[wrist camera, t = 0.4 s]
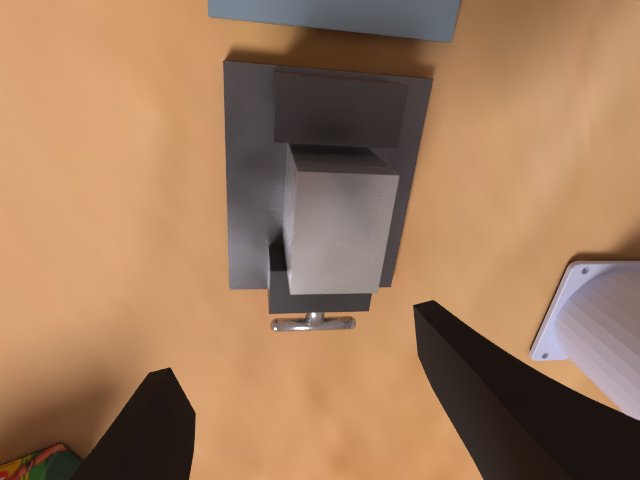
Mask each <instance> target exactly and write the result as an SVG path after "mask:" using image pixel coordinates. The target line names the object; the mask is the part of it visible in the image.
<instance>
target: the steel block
mask: <svg viewBox="0 0 640 480" xmlns="http://www.w3.org/2000/svg"><path fill="white" fill-rule="evenodd" d="M398 181H399V175H398V174H397V173H396V172H395V171H394V170H393V169H392V168H390V167H389V166H388V165H387V164H386V163H385V162H384V161H383V160H381V159H380V158H379V157H378V156H377V155H376V154H375V153H374V152H373V151H371V150H370V149H369V148H368V147H351V146H332V145H313V144H294V143H287V157H286V179H285V201H284V222H283V245H284V252H285V260H286V267H287V274H288V281H289V288H290V295H295V294H351V293H378V288H379V283H380V278H381V272H382V267H383V261H384V256H385V251H386V245H387V240H388V235H389V229H390V224H391V219H392V213H393V208H394V202H395V197H396V192H397V186H398Z"/></svg>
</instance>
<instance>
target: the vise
mask: <svg viewBox="0 0 640 480" xmlns="http://www.w3.org/2000/svg"><path fill="white" fill-rule="evenodd" d="M223 69H224V106H225V142H226V179H227V216H228V252H229V289H230V290H232V289H268V305H269V314H282V313H306V315H305V318H276V319H273V320H272V321H271V324H270V327H271V329H272V330H273V331H275V332H286V331H315V330H343V329H353V328H354V327H355V326H356V320H355V318H353V317H351V316H342V317H324V313H325V312H357V311H369V307H370V301H371V296H372V293H351V294H295V295H290V288H289V281H288V274H287V267H286V260H285V252H284V245H283V222H284V201H285V179H286V157H287V143H294V144H313V145H332V146H351V147H368V148H369V149H370V150H371V151H373V152H374V153H375V154H376V155H377V156H378V157H379V158H380V159H381V160H383V161H384V162H385V163H386V164H387V165H388V166H389V167H390V168H392V169H393V170H394V171H395V172H396V173H397V174H398V175H399V181H398V186H397V192H396V197H395V202H394V208H393V213H392V219H391V224H390V229H389V235H388V240H387V245H386V251H385V256H384V261H383V267H382V272H381V278H380V283H379V287H391V283H392V278H393V273H394V268H395V263H396V258H397V254H398V249H399V244H400V239H401V234H402V229H403V224H404V219H405V214H406V209H407V204H408V199H409V194H410V190H411V185H412V180H413V175H414V170H415V165H416V160H417V155H418V150H419V145H420V140H421V135H422V131H423V126H424V121H425V116H426V111H427V106H428V101H429V96H430V91H431V86H432V81H433V79H428V78H417V77H406V76H395V75H383V74H372V73H361V72H349V71H338V70H327V69H315V68H304V67H293V66H281V65H270V64H259V63H248V62H236V61H225V60H224V61H223Z"/></svg>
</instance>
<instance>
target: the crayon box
mask: <svg viewBox="0 0 640 480" xmlns="http://www.w3.org/2000/svg"><path fill="white" fill-rule="evenodd" d="M82 463H83V461H82V460H81V459H80V458H79V457H78V456H76V455H75V454H74V453H73V452H71V451H70V450H69V449H67V448H66V447H65V446H64V445H63V444H58V445H55V446H53V447H50V448H47V449H45V450H42V451H39V452H36V453H34V454H31V455H28V456H26V457H23V458H20V459H18V460H15V461H12V462H9V463H6V464H4V465H1V466H0V480H69V479H70V478H71V477H72V475H73V474H74V473H75V472H76V470H77V469H78V468H79V466H80V465H81V464H82Z"/></svg>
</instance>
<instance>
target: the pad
mask: <svg viewBox="0 0 640 480" xmlns="http://www.w3.org/2000/svg"><path fill="white" fill-rule="evenodd" d="M460 1H461V0H208V15H209V17H213V18H222V19H231V20H241V21H250V22H259V23H269V24H278V25H287V26H297V27H306V28H315V29H325V30H334V31H343V32H353V33H362V34H371V35H381V36H390V37H399V38H409V39H418V40H427V41H437V42H452V38H453V33H454V29H455V24H456V19H457V15H458V10H459V5H460Z"/></svg>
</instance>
